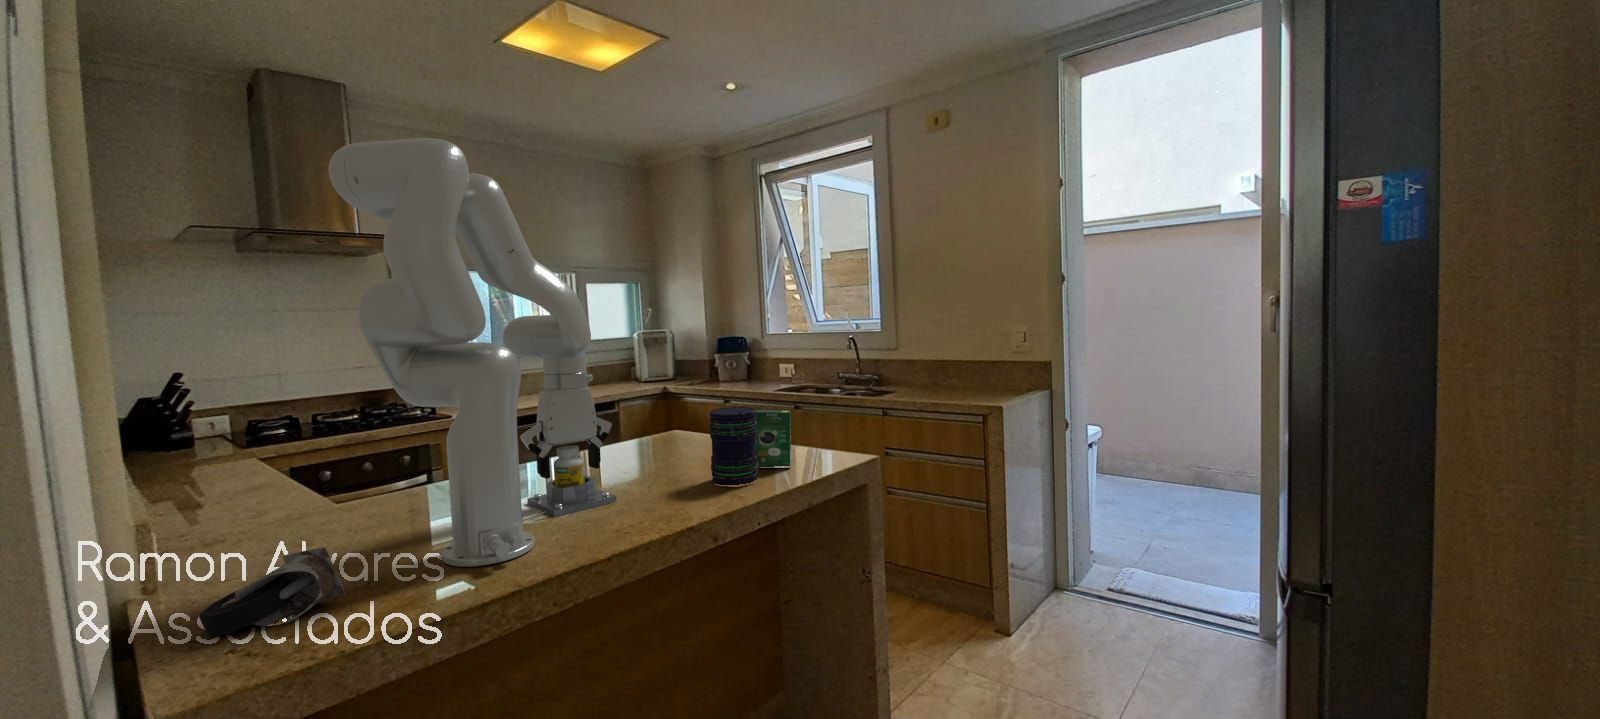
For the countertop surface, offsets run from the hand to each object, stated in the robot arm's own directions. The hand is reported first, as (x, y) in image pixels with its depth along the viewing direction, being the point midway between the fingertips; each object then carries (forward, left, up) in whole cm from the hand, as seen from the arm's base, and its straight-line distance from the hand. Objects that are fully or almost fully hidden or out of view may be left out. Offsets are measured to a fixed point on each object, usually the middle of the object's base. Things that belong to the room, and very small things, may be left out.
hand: (570, 472), depth 120 cm
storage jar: (-12, -30, -6) cm, 33 cm away
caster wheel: (-18, +46, -6) cm, 50 cm away
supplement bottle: (0, 0, -5) cm, 5 cm away
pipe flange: (0, 0, -6) cm, 6 cm away
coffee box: (-10, -43, -6) cm, 45 cm away
